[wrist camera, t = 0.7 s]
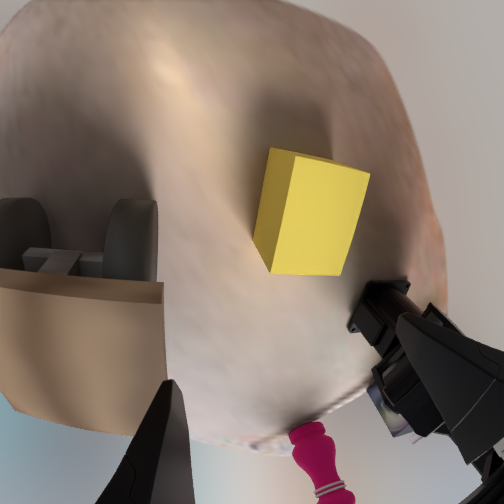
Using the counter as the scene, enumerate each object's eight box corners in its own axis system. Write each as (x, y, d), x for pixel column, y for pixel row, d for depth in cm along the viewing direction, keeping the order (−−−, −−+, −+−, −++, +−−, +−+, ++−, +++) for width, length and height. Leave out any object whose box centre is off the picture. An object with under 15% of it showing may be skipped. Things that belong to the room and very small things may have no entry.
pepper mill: (316, 434, 41) (353, 518, 24) (281, 441, 40) (314, 532, 22) (330, 416, 38) (375, 509, 21) (292, 424, 36) (333, 528, 19)
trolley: (175, 187, 17) (161, 256, 9) (171, 355, 24) (175, 448, 15) (17, 185, 14) (-67, 240, 5) (52, 343, 21) (25, 422, 12)
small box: (405, 344, 33) (444, 393, 24) (424, 346, 36) (459, 389, 27) (363, 391, 37) (392, 440, 28) (385, 389, 39) (413, 432, 30)
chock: (331, 160, 19) (370, 173, 15) (311, 244, 22) (340, 275, 18) (269, 147, 18) (295, 155, 13) (252, 239, 21) (270, 273, 16)
